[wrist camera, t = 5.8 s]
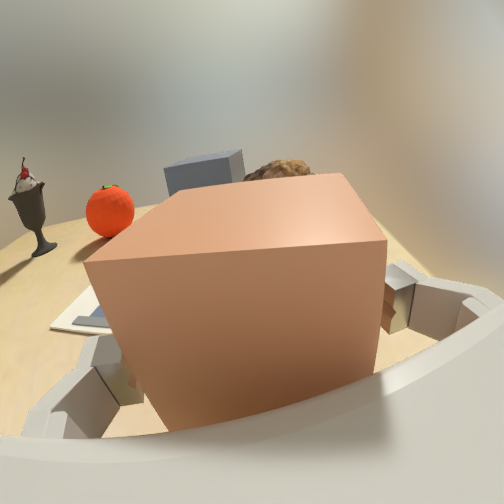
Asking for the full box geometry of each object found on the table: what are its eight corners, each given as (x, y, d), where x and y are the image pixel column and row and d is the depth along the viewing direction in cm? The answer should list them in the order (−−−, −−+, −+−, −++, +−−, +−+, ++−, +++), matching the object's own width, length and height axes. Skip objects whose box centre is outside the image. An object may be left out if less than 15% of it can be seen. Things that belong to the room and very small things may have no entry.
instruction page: (50, 328, 19) (48, 325, 19) (99, 278, 26) (98, 276, 26) (152, 339, 17) (150, 335, 17) (192, 275, 24) (191, 271, 24)
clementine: (112, 227, 43) (100, 183, 40) (150, 220, 42) (139, 173, 39) (85, 248, 36) (70, 197, 33) (126, 242, 35) (111, 187, 32)
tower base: (150, 250, 31) (131, 177, 28) (187, 214, 42) (176, 158, 38) (262, 241, 28) (249, 156, 25) (273, 205, 39) (264, 144, 36)
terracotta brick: (196, 469, 9) (82, 262, 5) (226, 372, 14) (179, 190, 10) (347, 476, 8) (386, 240, 4) (341, 370, 13) (341, 172, 9)
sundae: (52, 253, 36) (24, 154, 30) (21, 262, 36) (-7, 170, 30) (68, 238, 42) (45, 150, 36) (38, 246, 42) (15, 163, 36)
